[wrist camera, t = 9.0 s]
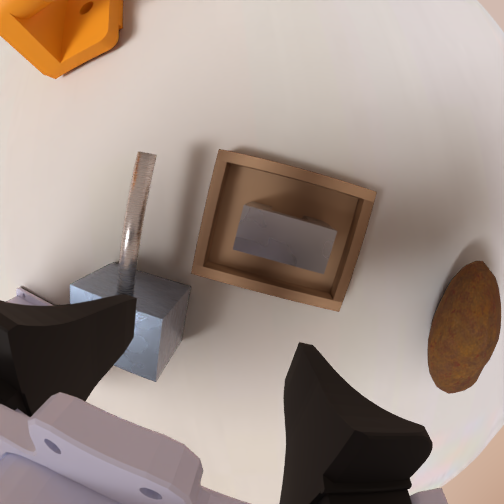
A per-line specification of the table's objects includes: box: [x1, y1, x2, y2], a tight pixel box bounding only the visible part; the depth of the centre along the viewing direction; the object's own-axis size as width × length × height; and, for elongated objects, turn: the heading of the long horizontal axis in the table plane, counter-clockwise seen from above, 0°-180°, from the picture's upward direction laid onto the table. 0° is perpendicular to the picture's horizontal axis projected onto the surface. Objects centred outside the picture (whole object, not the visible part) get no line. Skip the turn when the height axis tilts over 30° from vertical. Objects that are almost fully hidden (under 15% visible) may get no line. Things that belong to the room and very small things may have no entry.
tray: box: [191, 149, 377, 312], centre depth 19 cm, size 10×8×2 cm
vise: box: [70, 152, 191, 382], centre depth 19 cm, size 7×15×6 cm, turn 166°
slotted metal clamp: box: [233, 201, 337, 274], centre depth 17 cm, size 5×2×5 cm, turn 75°
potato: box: [428, 261, 501, 393], centre depth 17 cm, size 7×12×7 cm, turn 12°
